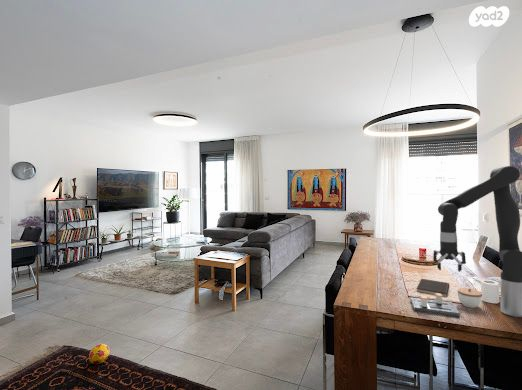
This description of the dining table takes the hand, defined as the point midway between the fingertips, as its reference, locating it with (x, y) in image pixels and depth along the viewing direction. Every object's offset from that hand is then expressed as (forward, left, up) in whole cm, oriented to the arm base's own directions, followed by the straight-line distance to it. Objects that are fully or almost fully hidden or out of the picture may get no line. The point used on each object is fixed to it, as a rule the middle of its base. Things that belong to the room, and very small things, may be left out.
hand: (449, 270), depth 147 cm
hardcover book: (+2, -31, -21) cm, 37 cm away
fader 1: (+13, +7, -18) cm, 23 cm away
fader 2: (+5, 0, -18) cm, 18 cm away
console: (+8, +3, -20) cm, 22 cm away
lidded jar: (-11, -8, -21) cm, 25 cm away
